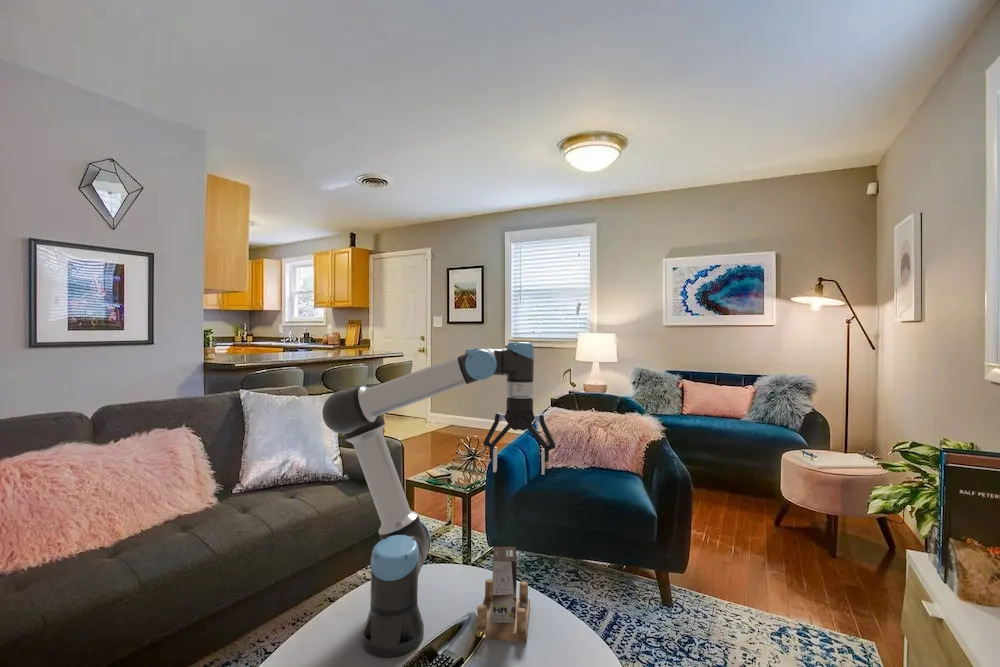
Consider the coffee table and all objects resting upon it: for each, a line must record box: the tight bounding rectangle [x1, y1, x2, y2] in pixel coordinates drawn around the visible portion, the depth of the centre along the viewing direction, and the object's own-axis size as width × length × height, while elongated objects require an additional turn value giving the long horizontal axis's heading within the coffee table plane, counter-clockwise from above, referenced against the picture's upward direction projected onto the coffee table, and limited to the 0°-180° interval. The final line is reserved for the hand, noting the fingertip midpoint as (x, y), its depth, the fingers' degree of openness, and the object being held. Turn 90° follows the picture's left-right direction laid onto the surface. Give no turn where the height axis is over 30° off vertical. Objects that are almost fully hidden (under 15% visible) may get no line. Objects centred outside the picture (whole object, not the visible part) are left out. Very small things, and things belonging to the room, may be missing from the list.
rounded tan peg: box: [518, 581, 529, 605], centre depth 129 cm, size 5×2×5 cm, turn 177°
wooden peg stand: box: [474, 578, 531, 643], centre depth 124 cm, size 13×16×7 cm
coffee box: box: [492, 546, 518, 624], centre depth 124 cm, size 9×6×16 cm
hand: (518, 472), depth 130 cm, fingers open, 13 cm apart
